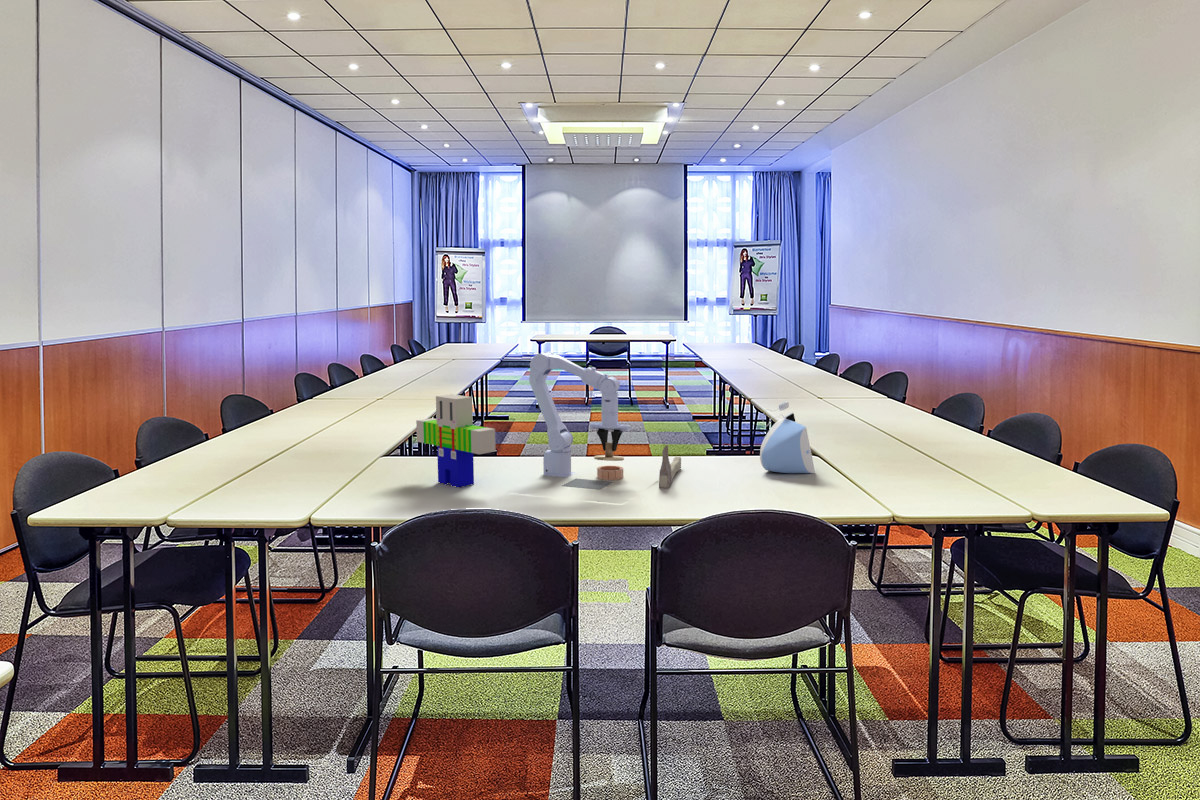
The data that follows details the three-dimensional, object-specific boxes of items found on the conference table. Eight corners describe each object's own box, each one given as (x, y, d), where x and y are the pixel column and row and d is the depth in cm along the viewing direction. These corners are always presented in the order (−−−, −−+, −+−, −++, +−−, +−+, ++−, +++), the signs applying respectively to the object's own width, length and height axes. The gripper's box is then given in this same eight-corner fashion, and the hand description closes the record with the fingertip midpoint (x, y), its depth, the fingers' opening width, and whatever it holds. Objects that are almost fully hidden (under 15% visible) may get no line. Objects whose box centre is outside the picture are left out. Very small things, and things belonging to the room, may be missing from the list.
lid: (589, 459, 311) (589, 442, 311) (601, 457, 320) (601, 440, 320) (617, 461, 307) (617, 444, 307) (628, 459, 316) (629, 442, 316)
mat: (561, 487, 302) (561, 485, 302) (575, 480, 313) (575, 478, 313) (600, 491, 297) (600, 489, 297) (613, 483, 308) (613, 481, 307)
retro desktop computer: (789, 397, 336) (823, 402, 322) (800, 454, 342) (834, 461, 328) (740, 423, 323) (773, 429, 309) (753, 481, 330) (786, 490, 316)
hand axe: (667, 490, 298) (667, 449, 296) (657, 490, 299) (657, 448, 297) (682, 472, 332) (683, 435, 331) (673, 471, 333) (674, 434, 331)
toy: (418, 477, 317) (415, 393, 313) (433, 474, 322) (431, 391, 318) (480, 493, 294) (478, 402, 290) (496, 489, 299) (494, 400, 295)
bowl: (593, 479, 313) (593, 469, 313) (603, 474, 321) (603, 464, 321) (617, 482, 310) (617, 471, 309) (626, 476, 318) (626, 466, 317)
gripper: (585, 412, 311) (586, 451, 313) (625, 414, 306) (625, 454, 308) (593, 409, 318) (594, 447, 320) (632, 411, 312) (632, 450, 314)
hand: (609, 450), depth 314 cm, fingers closed on lid, 3 cm apart
